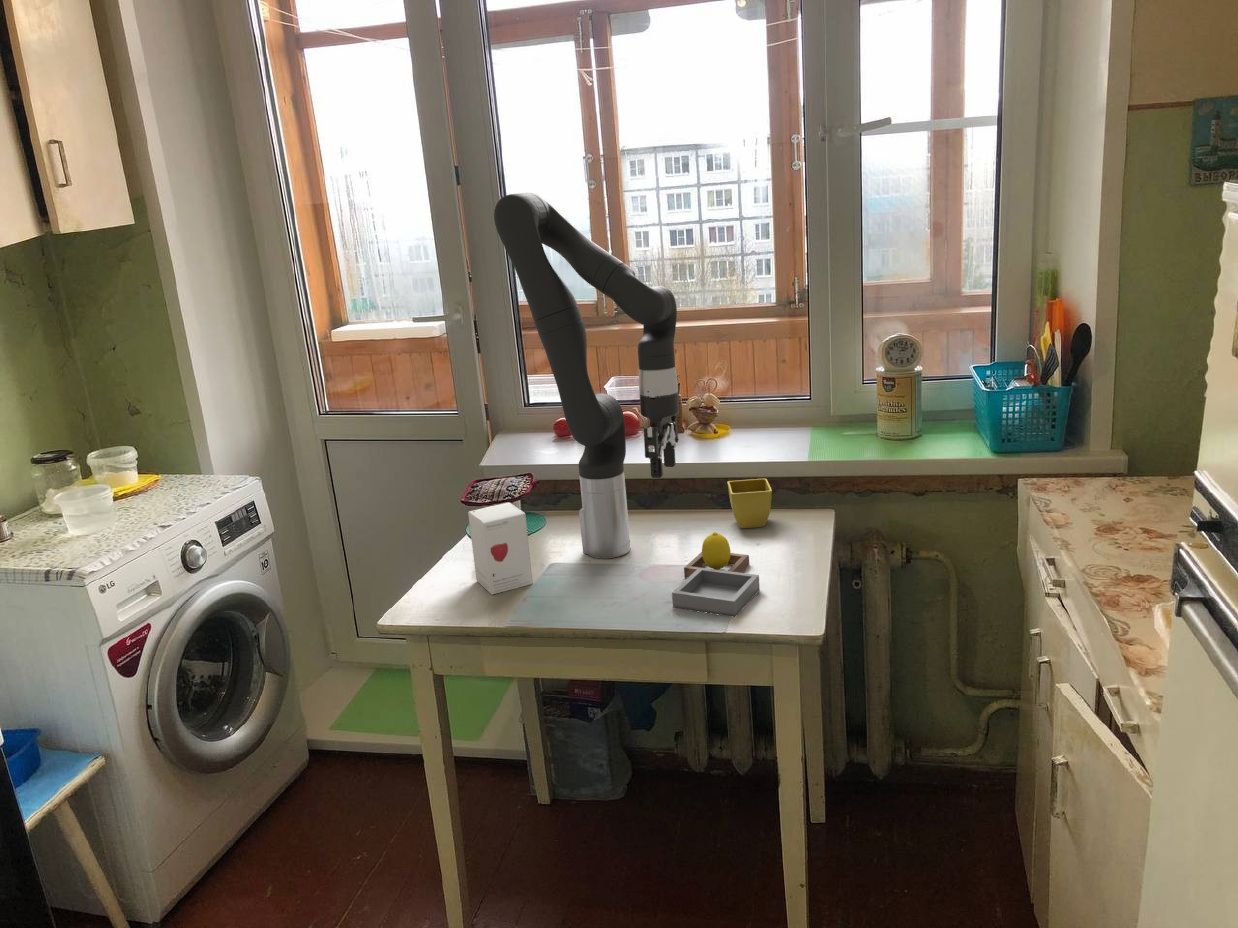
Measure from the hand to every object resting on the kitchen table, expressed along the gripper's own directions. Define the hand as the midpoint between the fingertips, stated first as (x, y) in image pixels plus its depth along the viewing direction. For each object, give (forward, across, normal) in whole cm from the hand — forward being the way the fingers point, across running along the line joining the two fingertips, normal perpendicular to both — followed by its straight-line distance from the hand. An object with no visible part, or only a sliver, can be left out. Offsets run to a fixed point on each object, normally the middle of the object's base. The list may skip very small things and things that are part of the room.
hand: (663, 471), depth 190 cm
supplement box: (+19, +16, -29) cm, 38 cm away
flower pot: (+18, -23, +12) cm, 31 cm away
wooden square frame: (+19, +4, +11) cm, 22 cm away
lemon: (+19, +4, +11) cm, 22 cm away
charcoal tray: (+20, +16, +14) cm, 29 cm away
